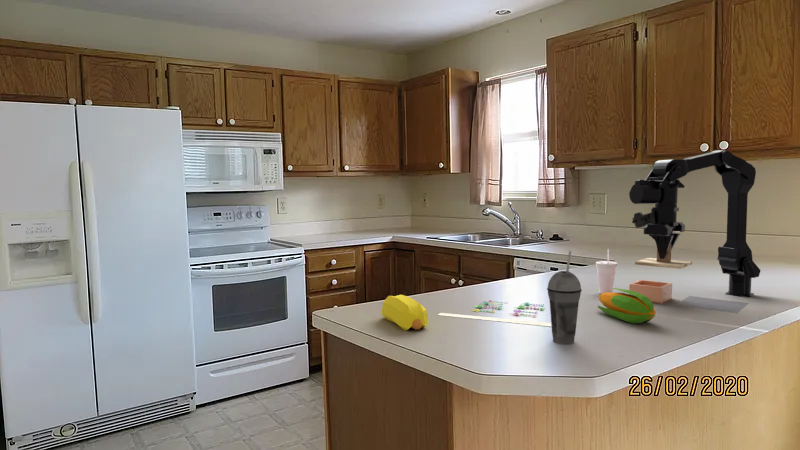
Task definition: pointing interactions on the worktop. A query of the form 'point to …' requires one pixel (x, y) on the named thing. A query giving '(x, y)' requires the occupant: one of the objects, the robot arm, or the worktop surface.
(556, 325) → the beverage cup
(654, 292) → the open box
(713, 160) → the robot arm
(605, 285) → the smoothie
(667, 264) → the lid
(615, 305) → the corn
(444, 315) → the printed paper
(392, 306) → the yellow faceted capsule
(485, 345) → the worktop surface
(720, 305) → the mat
